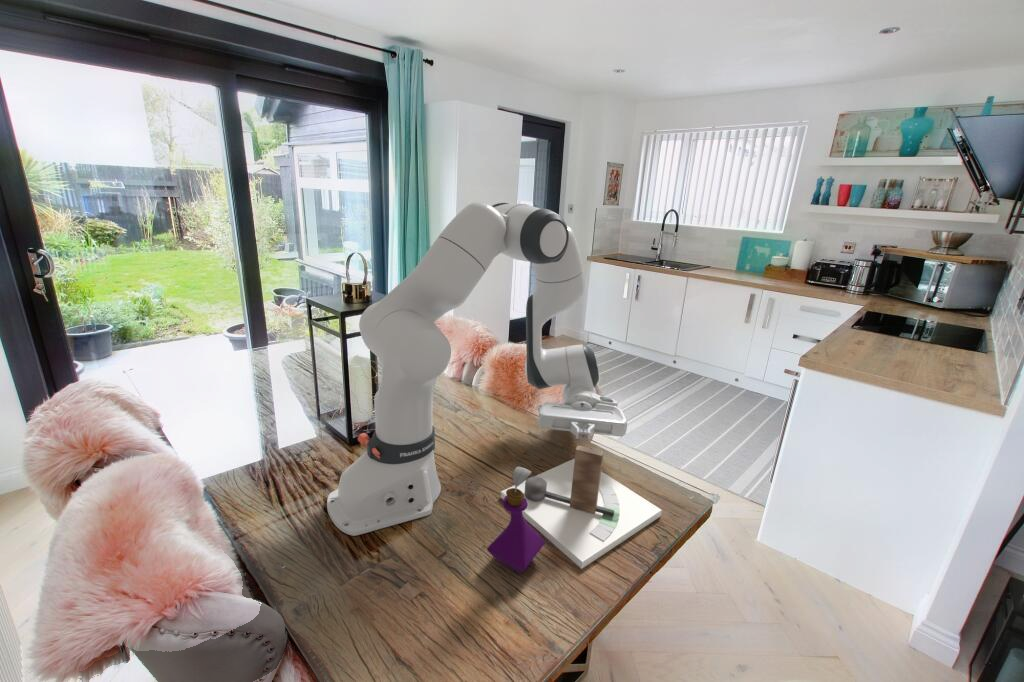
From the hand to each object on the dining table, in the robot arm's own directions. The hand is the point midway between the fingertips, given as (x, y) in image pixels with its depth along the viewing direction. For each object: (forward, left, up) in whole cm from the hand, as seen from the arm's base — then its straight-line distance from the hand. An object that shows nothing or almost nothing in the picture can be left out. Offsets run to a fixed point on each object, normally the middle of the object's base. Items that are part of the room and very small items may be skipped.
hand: (583, 436), depth 97 cm
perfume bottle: (-26, -10, -11) cm, 30 cm away
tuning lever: (-10, -6, -9) cm, 15 cm away
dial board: (-7, -7, -11) cm, 14 cm away
